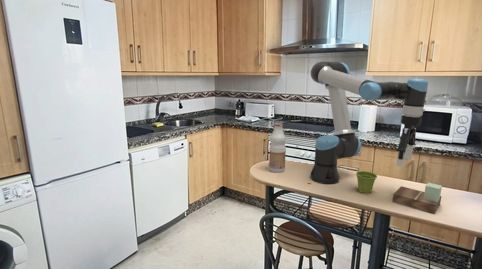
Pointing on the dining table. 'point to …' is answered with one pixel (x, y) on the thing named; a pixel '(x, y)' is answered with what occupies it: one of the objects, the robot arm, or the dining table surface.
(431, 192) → the sage block
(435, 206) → the walnut board
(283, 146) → the fruit juice
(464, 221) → the dining table surface
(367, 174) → the plant pot
